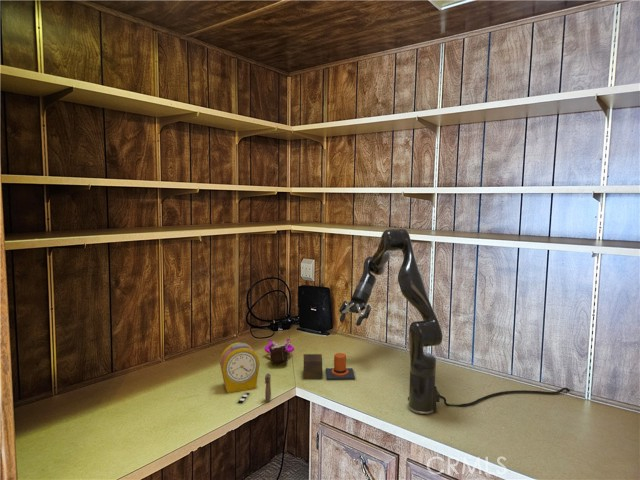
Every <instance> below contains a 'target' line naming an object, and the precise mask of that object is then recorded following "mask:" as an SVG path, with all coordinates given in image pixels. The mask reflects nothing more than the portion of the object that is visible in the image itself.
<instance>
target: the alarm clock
mask: <svg viewBox="0 0 640 480" xmlns="http://www.w3.org/2000/svg"><path fill="white" fill-rule="evenodd" d="M260 364H261V363H260V359H259V356H258V354H257V353H256V351H255V350H254V349H253V347H252V346H251V345H249V344H248V343H246V342H240V341H239V342H234V343H231V344H229V345H228V346H226V348H225V349H223V352H222V353H221V355H220V357H219V365H220V370H221V374H222V375H221V376H222V380H223V385H224V388H225V390H226V393H227V394H228V393H234V392H240V391H247V390H252V389H253V390H254V389H256V388H257V383H258V376H259V372H260V371H259V370H260Z"/></svg>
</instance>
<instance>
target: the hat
mask: <svg viewBox="0 0 640 480" xmlns="http://www.w3.org/2000/svg"><path fill="white" fill-rule="evenodd" d="M333 368H334V369H332V370H331V373H332V374H333V375H335V376H346V375H348V373H349V371H348V370H347V369H346V368H347V354H345V353H343V352H337V353H334V355H333Z"/></svg>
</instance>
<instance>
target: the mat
mask: <svg viewBox="0 0 640 480" xmlns="http://www.w3.org/2000/svg"><path fill="white" fill-rule="evenodd" d="M332 369H334V367H333V368H332V367H326V368H325V375H326V380H327V381H355V380H356V377H355V372H354V368H352V367H351V368H350V367H349V368H348V367H346V369H347V370H348V371H349V373H348V375H346V376H335V375H333V374H332V373H331V370H332Z"/></svg>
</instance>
